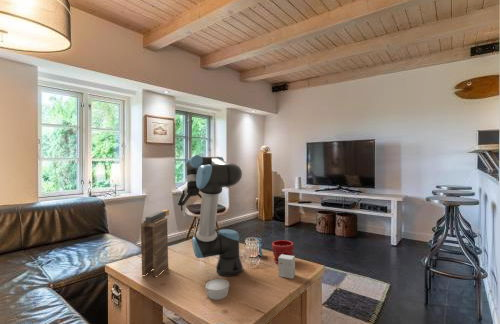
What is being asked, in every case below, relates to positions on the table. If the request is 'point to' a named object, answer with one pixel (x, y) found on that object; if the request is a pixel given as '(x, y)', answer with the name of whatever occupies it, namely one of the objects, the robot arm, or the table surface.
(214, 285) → the ramekin
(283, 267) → the small box
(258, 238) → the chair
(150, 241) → the brown tall wooden block
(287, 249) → the plant pot
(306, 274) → the table surface
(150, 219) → the marker
